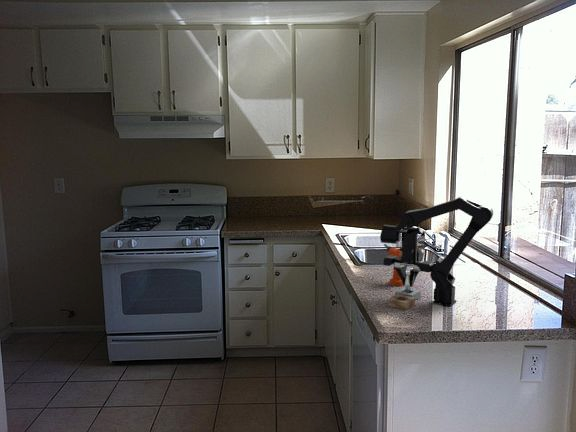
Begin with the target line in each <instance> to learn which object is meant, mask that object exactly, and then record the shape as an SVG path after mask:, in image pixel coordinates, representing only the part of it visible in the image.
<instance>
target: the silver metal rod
mask: <svg viewBox="0 0 576 432" xmlns="http://www.w3.org/2000/svg"><path fill="white" fill-rule="evenodd" d="M404 288H405V292H406V293H411V289H412V287H410V273H406V274H405V286H404Z"/></svg>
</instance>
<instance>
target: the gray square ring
mask: <svg viewBox="0 0 576 432" xmlns="http://www.w3.org/2000/svg"><path fill="white" fill-rule="evenodd" d="M421 292H422V291H421V290H419V289H412V288H411V293H406V292H405V287H401V288H399V289H398V290H396V291H394V296H395V295H397V294H399V295H404V296H409V297H413V298H415V301H417V300H418V299H419V298H421V294H422V293H421Z"/></svg>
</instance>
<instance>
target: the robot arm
mask: <svg viewBox="0 0 576 432" xmlns="http://www.w3.org/2000/svg"><path fill="white" fill-rule="evenodd" d="M458 210H460V211H462V212H464V213H465V214H466V215H468V216H470V217H471V219H470V221H469V222H468V225H467V227H466V228H465V230H464V231H463V232H462V234H461V236H460V237H459V239H458V240H457V241H456V243H455V244H454V245H453V247H452V248H451V249H450V251H449V252H448V253H447V255H446V256H445V257H444V258H442V257H440V256H439V257H438V258H437V260H436V262H435V261H429V260H424V254H425V253H424V252H422V251H420V247H419V246H418V239H419V235H422V234H423V233H424V230H423V229H421V227H420V226H417V225H419V224H421V223H423V222H425V221H427V220H429V219H432V218H436V217H438V216H441V215H445V214H448V213H452V212H454V211H458ZM493 216H494V209H493V207H491V206H490V205H487V204H479V203H477V202H475V201H472V200H470V199H468V198H466V197H463V196H458V197H457V198H454V199H451V200H449V201H445V202H442V203H439V204H436V205H433V206H429V207H427V208H417V209H411V210H408V211H405V212H404V213H403V214H402V215H401V217H400V222H398V224H396V225H389V224H383V225H382V227H381V228H382V229H381V232H380V236H379V237H380V239H379V240H380V243H381V244H392V245H397V244H398V243H399V242H401V245H400V246H401V247H399V250H400V251H401V259H399V257H398V256H391V255H387V256H384V258H383V259H382V266H385V267H386V266H388V267H390V266H392V265H394V264H395V267H394V266H393V268H394V269H396V271H397V273H398V274H399V276H400V278H401V281H402V283H403V287H405V274H407V268H408V267H411V268H412V269H410V270H409V274H410V287H411V288H412V287H413V286H414V284H415V282H416V279H417V276H418V275H419V273H420V272H423V273H430V278H431V281H433V283H435V285H434V288H433V298H432V299H433V301H432V303H433V304H437V305H442V306H448V307H451V306H452V305H454V304H455V303H456V302H457V300H456V286H454V283H455V281H456V277H454V275H453V274H452V273H451V272H452V269H453V268H454V265H455V263H456V261H457V260H458V259H459V258H460V256H461V255H462V253H463V252H464V251H465V249H466V248H467V246H468V245H469V244H470V243H471V241H472V240H473V239H474V237H475V236H476V234H478V232H479V231H480V230H482V229H483V228H485V226H486V225H487V224H489V222H490V221H491V219H492V218H493ZM416 226H417V227H416ZM414 227H416V228H414ZM405 229H406V230H405Z"/></svg>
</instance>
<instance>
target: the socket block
mask: <svg viewBox="0 0 576 432" xmlns="http://www.w3.org/2000/svg"><path fill="white" fill-rule="evenodd" d="M387 300H388V301H387V305H388V306H387V307H392V308H397V309H401V310H404V311H406V310H408V309H410V308H412V307H414V306H415V305H416V300H415V298H413V297H409V296H404V295H399V294H397V295H395V294H394V296H392V297H389V298H388V299H387Z"/></svg>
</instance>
